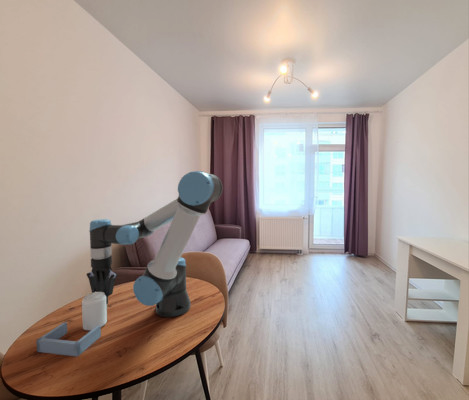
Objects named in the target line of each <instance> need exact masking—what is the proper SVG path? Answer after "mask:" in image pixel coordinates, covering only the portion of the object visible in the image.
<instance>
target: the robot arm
mask: <svg viewBox="0 0 469 400" xmlns="http://www.w3.org/2000/svg"><path fill="white" fill-rule="evenodd" d="M177 185H178V186H177V192H178V197H177V198H176V199H174V200H173V201H171V202H169V203H167V204H166V205H164V206H162V207H160V208H158V209H157V210H155V211H154V212H152V213H151V214H148V215H147V216H145V217H144V218H142V219H140V220H139V221H135V222H130V223H125V224H121V225H120V224H119V225H118V224H117V225H116V224H112V222H111V220H110V219H107V218H104V219H94V220H92V221H90V223H89V230H88V232H89V243H90V246H89V247H90V268H92V269H91V271H89V272H88V273H86V277H87V278H88V281H89V285H90V286H89V287H90V290H91V293H94V292H104V293H105V295H106V307H107V308H108V303H109V296H111V295H113V292H114V288H115V283H116V282H115V281H116V278H117V276H118V272H114V271H113V269H112V264H113V256H112V244H114V245H121V246H122V245H125V246H126V245H133V244H135V243H136V242H137V240H138V239H141V238H147V237H149V236H151V235H153V233H154V232H155V231H157V230H160V228H162V227H164V226H166V225H168V224H170V225H169V227H168V229H167V231H166V233H165V236H164V238H163V240H162V242H161V244H160V246H159V249H158V251H157V253H156V255H155V258H154V259H152V260H150V261H149V262H148V263H147V265H146V267H145V269H144V272H143V274H142V275H141V276H140V275H139V277H138V278H136V280H135V281H134V282H133V287H132V291H133V294H134V296H135V298H136V300H137V301H138V302H139V303H140V304H142V305H143V306H147V307H151V306H154V305H155V313H156V315H158V316H159V317H163V318H175V317H178V316H181V315H183V314H186V313H187V312H188V311H190V309H191V299H190V296H189V293H188V291H187V264H186V263H187V262H186V259H185V258H184V257H182V255H183V253H184V251H185V248H186V247H187V245H188V242H189V240H190V238H191V236H192V234H193V232H194V230H195V227H196V225H197V223H198V221H199V219H200V217H201V216H203V215H205V214H207V212H208V209H209V208H210V206H211V204H212V203H213V202H216V201H217V200H219V199H220V198H221V196H222V193H223V189H224V185H223V182H222V180H221V178H219V177H218V176H217V175H215V174H213V173H208V172H206V171H201V170H196V171H195V170H193V171H189V172H188V173H186V174H184V175H183V176H182V177H181V178H180V180H179V182H178V184H177Z"/></svg>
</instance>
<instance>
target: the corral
mask: <svg viewBox="0 0 469 400" xmlns="http://www.w3.org/2000/svg"><path fill="white" fill-rule="evenodd" d="M101 328H102V327H101V326H100V325H97V326H96V327H95V328H94V329H92V330H89V331H88V332H87V333H86V334H85V335H83V336H82V337H81V338H80V339H78V340H77V341H75V340H66V339H61V338H62V337H64V336H65V335H66V334H67V333H68V322H65V321H64V322H62V323H61V324H59V325H57V326H56V327H55V328H53V329H51V330H50V331H48V332H46V333H45V334H44V335H42V336H40V337H39V338H37V339H36V340H35V341H36V342H35V343H36V352H37V353H47V354H52V355H53V354H54V355H62V356H71V357H77V358H78V357H79V356H80V355H81V354H82V353H83V352H85V351H86V350H87V349H88V348H89V347H91V346H92V345H93V344H94V343H95V342H96V341H97V340H99V339H100V338H101V337H102V330H101Z"/></svg>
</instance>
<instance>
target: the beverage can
mask: <svg viewBox="0 0 469 400" xmlns="http://www.w3.org/2000/svg"><path fill="white" fill-rule="evenodd" d="M81 311H82V312H81V313H82V314H81V315H82V316H81V317H82V320H81V321H82V329H83V330H84V331H91V330H92V329H94V328H95V327H96V326H97V325H100V326H101V328H102V327H103V326H105V325H106V323H107V321H108V313H107V311H108V306H107V307H106V295H105V293H104V292H96V291H95V292H94V293H92V292H91V293H89V294H86V295H85V296H83V298H82V301H81Z"/></svg>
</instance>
